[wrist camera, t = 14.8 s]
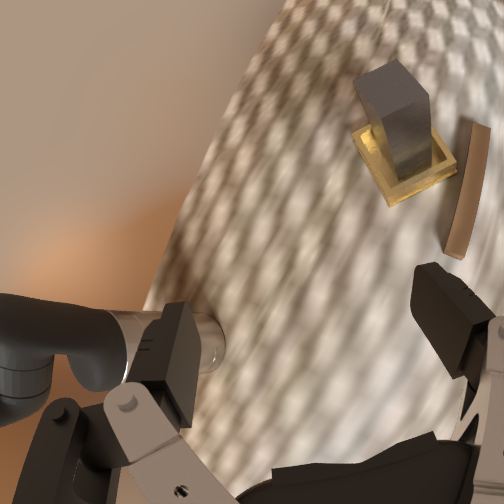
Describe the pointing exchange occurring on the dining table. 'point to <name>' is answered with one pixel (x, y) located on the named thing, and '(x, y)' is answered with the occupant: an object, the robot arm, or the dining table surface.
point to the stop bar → (398, 117)
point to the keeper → (411, 184)
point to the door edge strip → (469, 193)
